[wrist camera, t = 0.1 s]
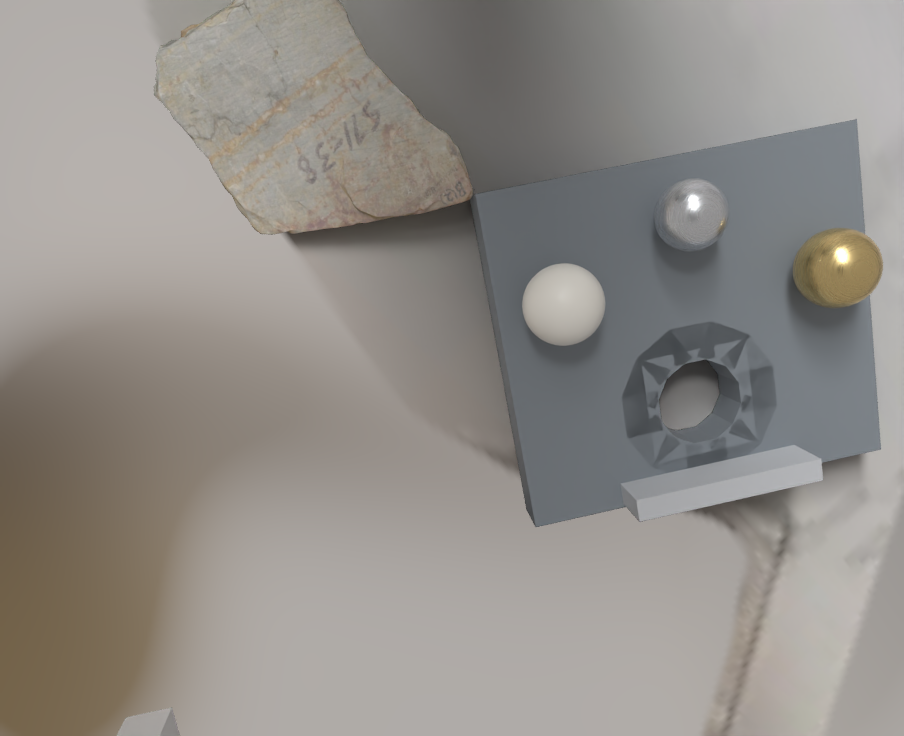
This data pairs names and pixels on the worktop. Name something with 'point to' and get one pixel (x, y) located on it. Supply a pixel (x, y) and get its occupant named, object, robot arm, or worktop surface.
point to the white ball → (563, 304)
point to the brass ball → (837, 268)
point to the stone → (304, 119)
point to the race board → (682, 330)
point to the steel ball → (691, 214)
